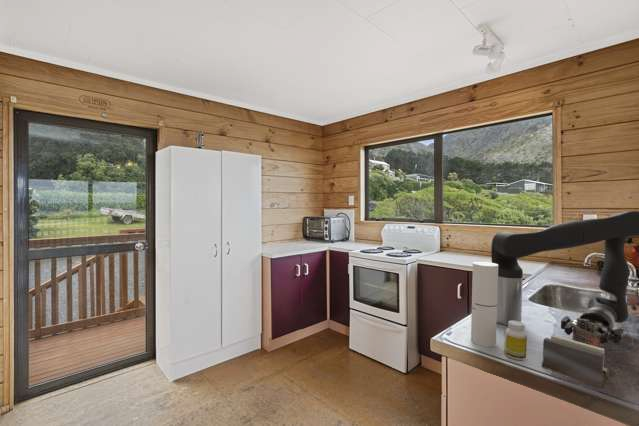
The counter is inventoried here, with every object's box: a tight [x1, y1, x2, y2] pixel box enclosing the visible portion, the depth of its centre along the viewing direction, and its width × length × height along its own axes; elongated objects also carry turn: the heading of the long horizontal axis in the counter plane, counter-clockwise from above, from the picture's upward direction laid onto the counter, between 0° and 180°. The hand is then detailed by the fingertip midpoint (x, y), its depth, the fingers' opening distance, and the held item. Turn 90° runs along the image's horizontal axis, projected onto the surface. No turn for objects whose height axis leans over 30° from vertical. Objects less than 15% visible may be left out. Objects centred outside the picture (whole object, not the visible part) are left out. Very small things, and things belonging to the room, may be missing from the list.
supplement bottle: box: [504, 320, 528, 361], centre depth 93 cm, size 5×5×10 cm
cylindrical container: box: [470, 261, 498, 348], centre depth 101 cm, size 7×7×25 cm
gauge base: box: [541, 337, 612, 388], centre depth 86 cm, size 12×12×8 cm
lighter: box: [572, 317, 602, 348], centre depth 92 cm, size 8×3×10 cm, turn 5°
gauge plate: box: [550, 334, 606, 374], centre depth 85 cm, size 2×12×6 cm, turn 40°
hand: (584, 335), depth 91 cm, fingers closed on lighter, 7 cm apart
